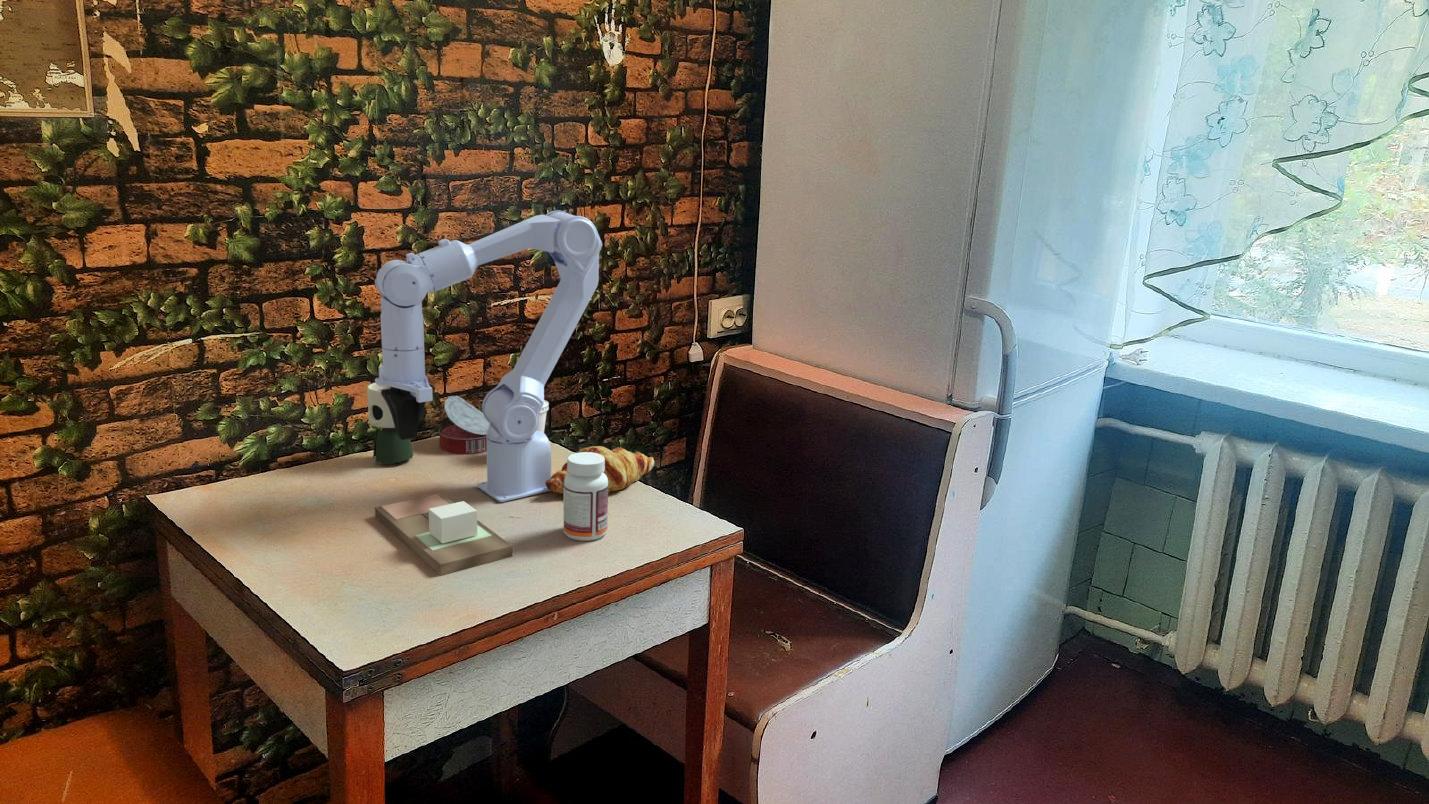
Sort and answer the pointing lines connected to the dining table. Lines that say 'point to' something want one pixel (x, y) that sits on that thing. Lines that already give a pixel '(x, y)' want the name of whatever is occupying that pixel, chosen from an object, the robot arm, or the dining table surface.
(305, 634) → the dining table surface
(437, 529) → the white block
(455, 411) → the canned food
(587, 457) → the pill bottle
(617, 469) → the croissant
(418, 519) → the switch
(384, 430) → the character mug
